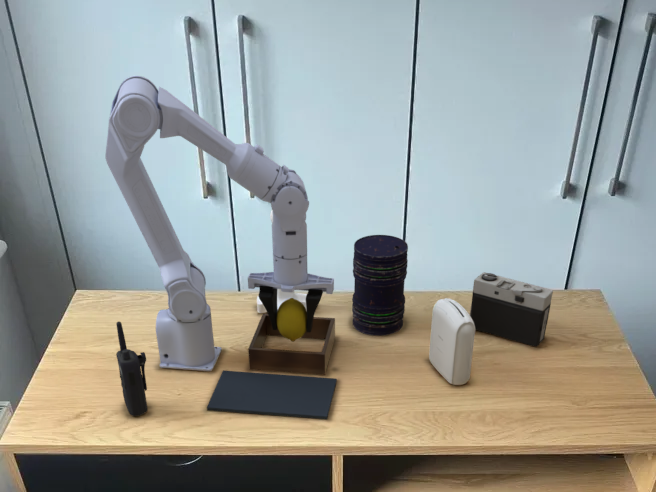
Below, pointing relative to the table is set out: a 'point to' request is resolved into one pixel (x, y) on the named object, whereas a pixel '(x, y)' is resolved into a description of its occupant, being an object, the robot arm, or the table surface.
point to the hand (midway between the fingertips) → (292, 328)
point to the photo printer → (452, 341)
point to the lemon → (292, 319)
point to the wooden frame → (292, 358)
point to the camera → (510, 308)
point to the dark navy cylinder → (379, 284)
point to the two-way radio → (132, 376)
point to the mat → (273, 394)
